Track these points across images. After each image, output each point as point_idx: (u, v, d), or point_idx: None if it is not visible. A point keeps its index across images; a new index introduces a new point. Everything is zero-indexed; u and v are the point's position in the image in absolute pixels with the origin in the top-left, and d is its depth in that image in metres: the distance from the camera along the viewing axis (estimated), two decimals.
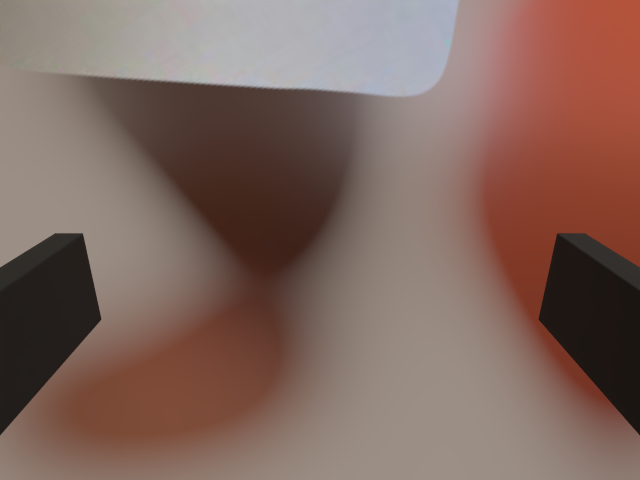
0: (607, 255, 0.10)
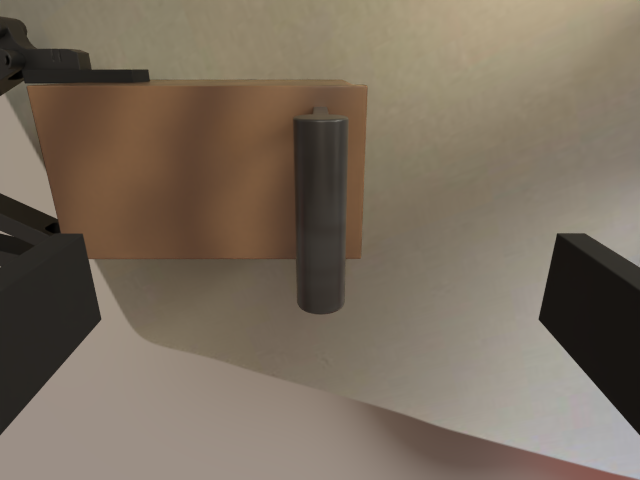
0: (607, 255, 0.10)
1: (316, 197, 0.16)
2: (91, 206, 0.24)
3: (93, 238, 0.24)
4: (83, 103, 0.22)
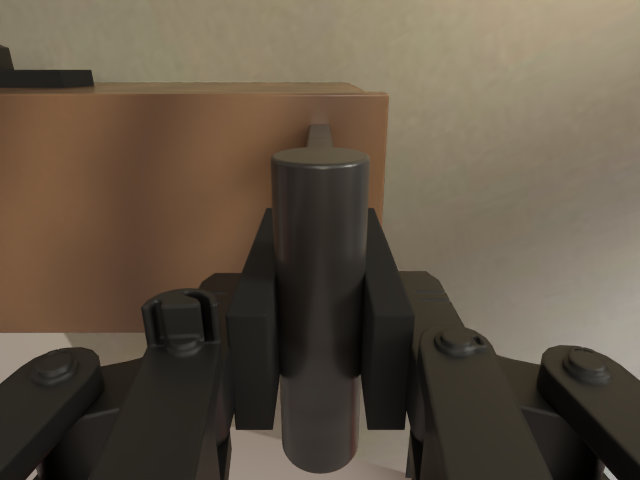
0: (369, 223, 0.12)
1: (312, 298, 0.09)
2: None
3: (2, 306, 0.17)
4: None
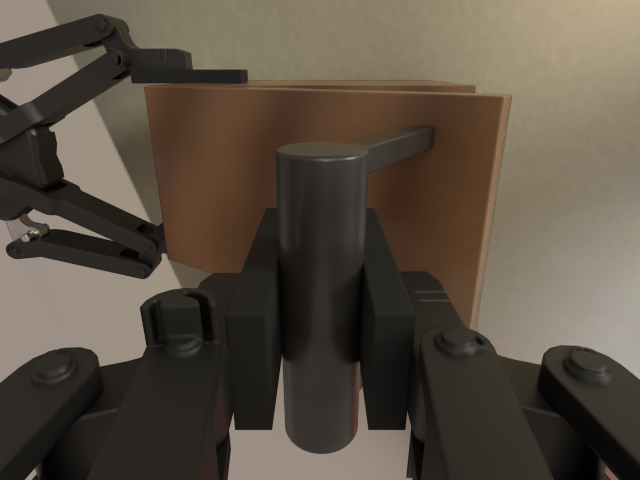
0: (369, 223, 0.12)
1: (291, 278, 0.10)
2: (185, 212, 0.23)
3: (186, 245, 0.23)
4: (182, 105, 0.20)
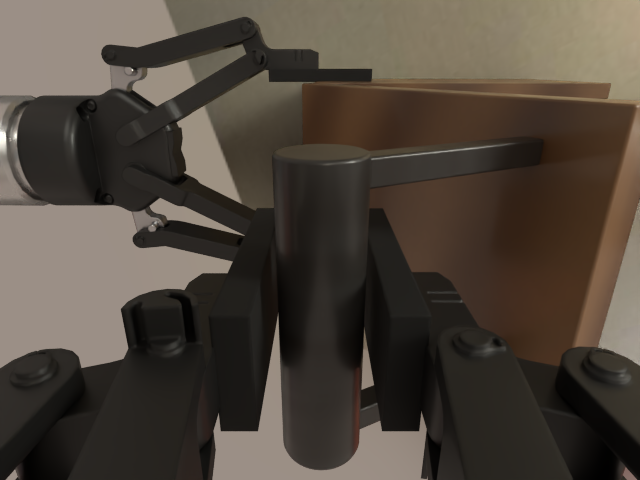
0: (379, 223, 0.12)
1: (278, 279, 0.09)
2: None
3: None
4: (324, 103, 0.21)
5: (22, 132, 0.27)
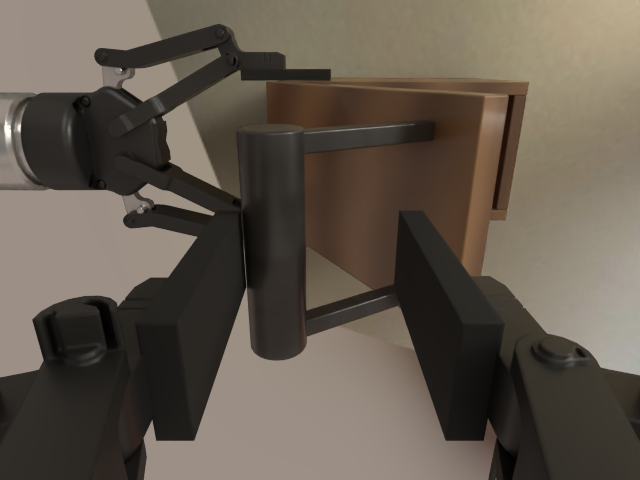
0: (423, 226, 0.12)
1: (243, 218, 0.14)
2: None
3: None
4: (285, 98, 0.25)
5: (25, 124, 0.31)
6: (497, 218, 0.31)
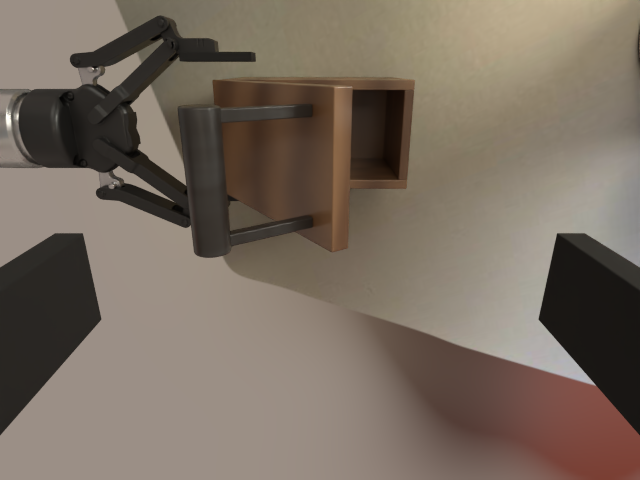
0: (608, 255, 0.10)
1: (184, 163, 0.22)
2: (228, 159, 0.36)
3: (228, 181, 0.37)
4: (225, 92, 0.34)
5: (22, 113, 0.39)
6: (399, 187, 0.40)
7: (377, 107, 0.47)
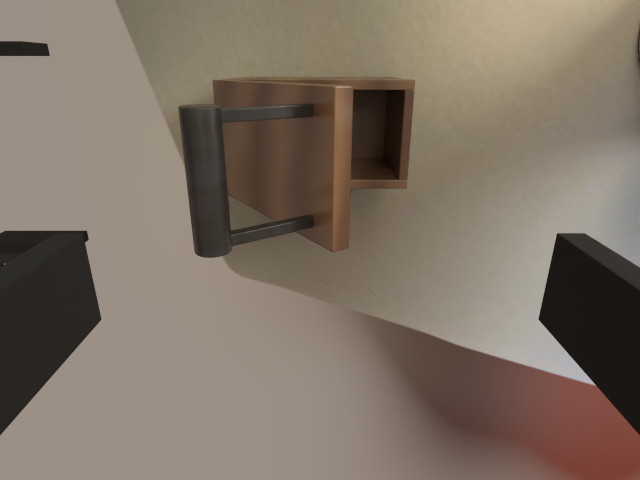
0: (608, 255, 0.10)
1: (185, 163, 0.22)
2: (228, 159, 0.36)
3: (228, 181, 0.37)
4: (226, 92, 0.34)
5: None
6: (400, 186, 0.40)
7: (377, 107, 0.47)
